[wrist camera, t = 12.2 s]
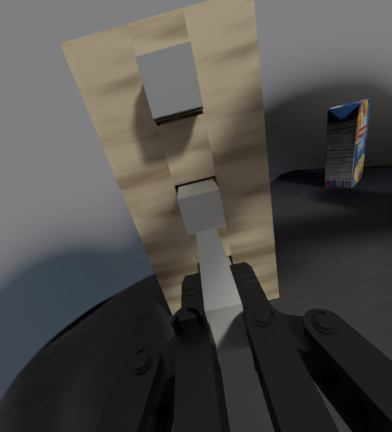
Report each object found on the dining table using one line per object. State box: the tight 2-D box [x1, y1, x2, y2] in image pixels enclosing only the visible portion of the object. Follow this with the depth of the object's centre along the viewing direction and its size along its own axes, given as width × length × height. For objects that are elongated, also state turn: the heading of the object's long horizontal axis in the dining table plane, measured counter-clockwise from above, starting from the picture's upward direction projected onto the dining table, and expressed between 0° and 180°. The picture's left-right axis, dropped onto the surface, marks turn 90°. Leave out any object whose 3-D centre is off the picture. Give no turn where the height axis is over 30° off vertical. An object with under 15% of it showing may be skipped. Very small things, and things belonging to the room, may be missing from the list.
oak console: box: [60, 0, 279, 316], centre depth 30 cm, size 10×18×38 cm, turn 93°
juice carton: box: [325, 98, 371, 189], centre depth 62 cm, size 12×8×24 cm, turn 132°
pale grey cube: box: [177, 178, 227, 236], centre depth 23 cm, size 5×4×4 cm
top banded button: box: [135, 41, 204, 122], centre depth 18 cm, size 5×5×5 cm
